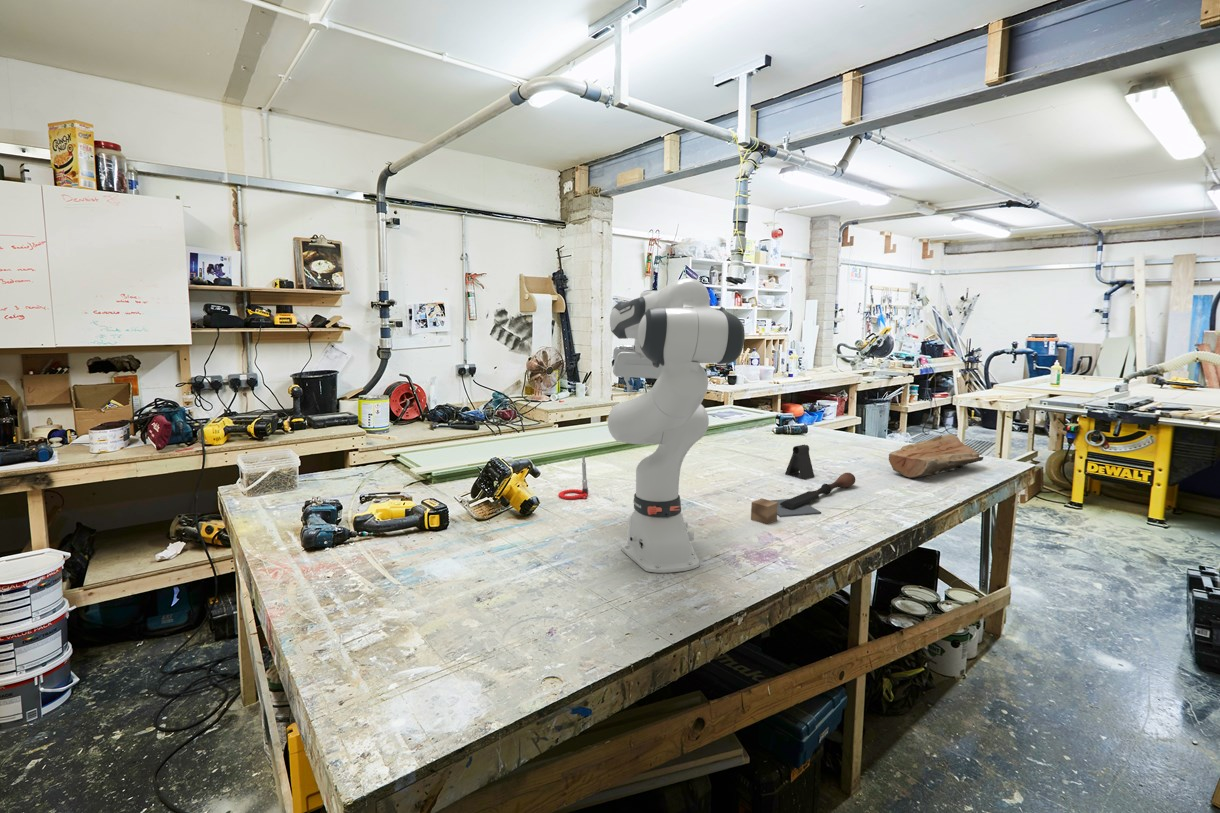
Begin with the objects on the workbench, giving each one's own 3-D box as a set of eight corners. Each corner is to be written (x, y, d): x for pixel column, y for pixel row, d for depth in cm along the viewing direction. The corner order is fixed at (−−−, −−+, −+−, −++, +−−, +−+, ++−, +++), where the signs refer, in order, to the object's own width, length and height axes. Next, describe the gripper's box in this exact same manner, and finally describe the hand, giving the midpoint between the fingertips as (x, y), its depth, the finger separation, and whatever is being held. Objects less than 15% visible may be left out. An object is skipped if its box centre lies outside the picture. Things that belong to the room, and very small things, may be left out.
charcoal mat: (821, 513, 175) (821, 512, 175) (780, 517, 172) (780, 515, 172) (796, 499, 189) (796, 498, 189) (758, 502, 185) (758, 501, 185)
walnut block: (776, 520, 170) (777, 502, 169) (766, 524, 166) (767, 506, 165) (760, 515, 174) (761, 498, 173) (750, 519, 170) (751, 502, 169)
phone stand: (814, 477, 215) (816, 446, 214) (804, 480, 212) (806, 448, 210) (795, 472, 223) (796, 442, 221) (784, 474, 219) (786, 444, 218)
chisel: (857, 486, 204) (859, 473, 203) (792, 515, 177) (794, 500, 175) (844, 482, 208) (846, 469, 207) (778, 509, 180) (780, 495, 179)
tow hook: (556, 501, 187) (586, 500, 187) (554, 460, 185) (584, 459, 185) (560, 493, 196) (589, 492, 196) (558, 453, 194) (587, 453, 194)
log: (950, 459, 242) (947, 426, 239) (993, 465, 227) (991, 430, 224) (886, 488, 223) (883, 452, 221) (929, 497, 208) (925, 458, 206)
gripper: (615, 346, 161) (611, 393, 165) (685, 350, 164) (680, 396, 167) (612, 342, 167) (609, 388, 171) (680, 346, 170) (675, 391, 173)
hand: (645, 392), depth 169 cm, fingers open, 8 cm apart
